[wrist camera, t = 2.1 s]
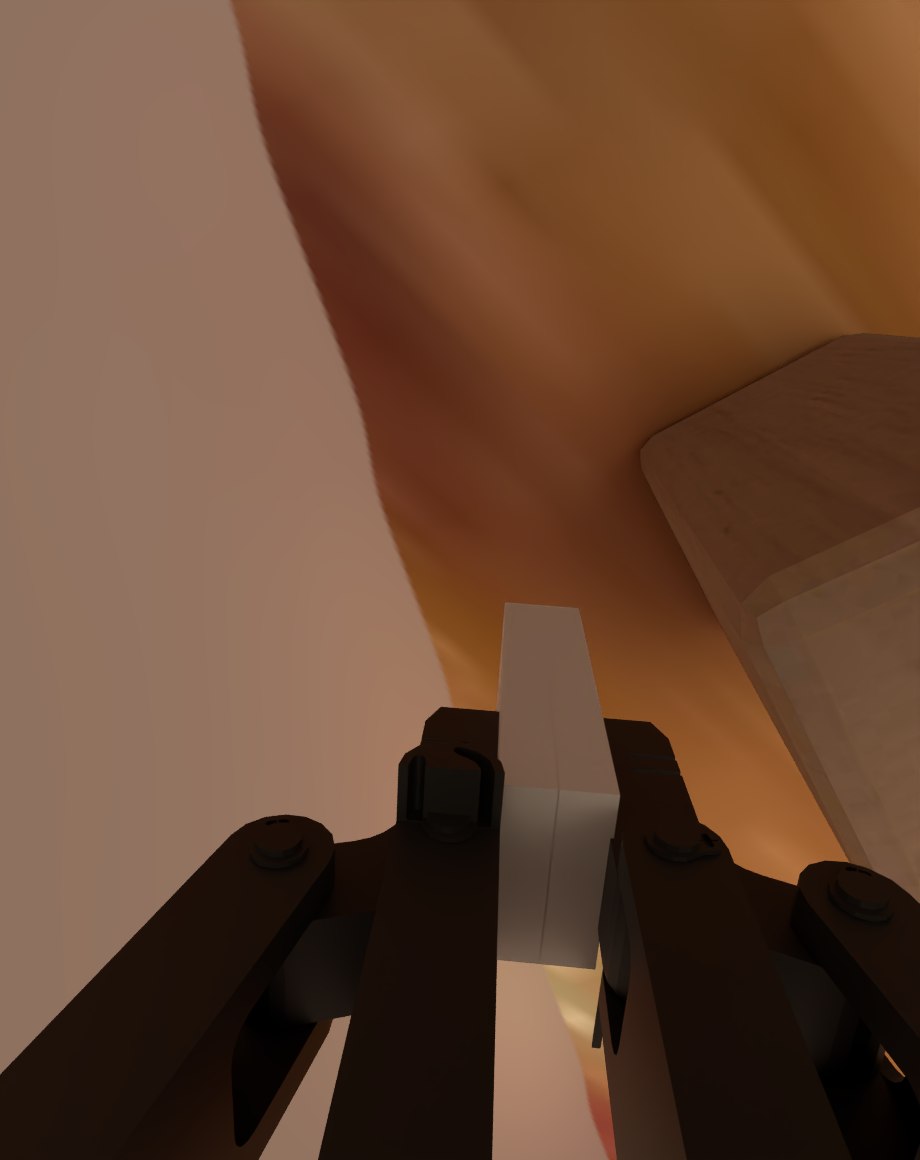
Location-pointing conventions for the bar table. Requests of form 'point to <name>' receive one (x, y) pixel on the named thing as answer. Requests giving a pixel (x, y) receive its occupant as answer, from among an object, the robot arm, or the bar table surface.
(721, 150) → the bar table surface
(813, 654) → the wooden block
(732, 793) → the bar table surface
